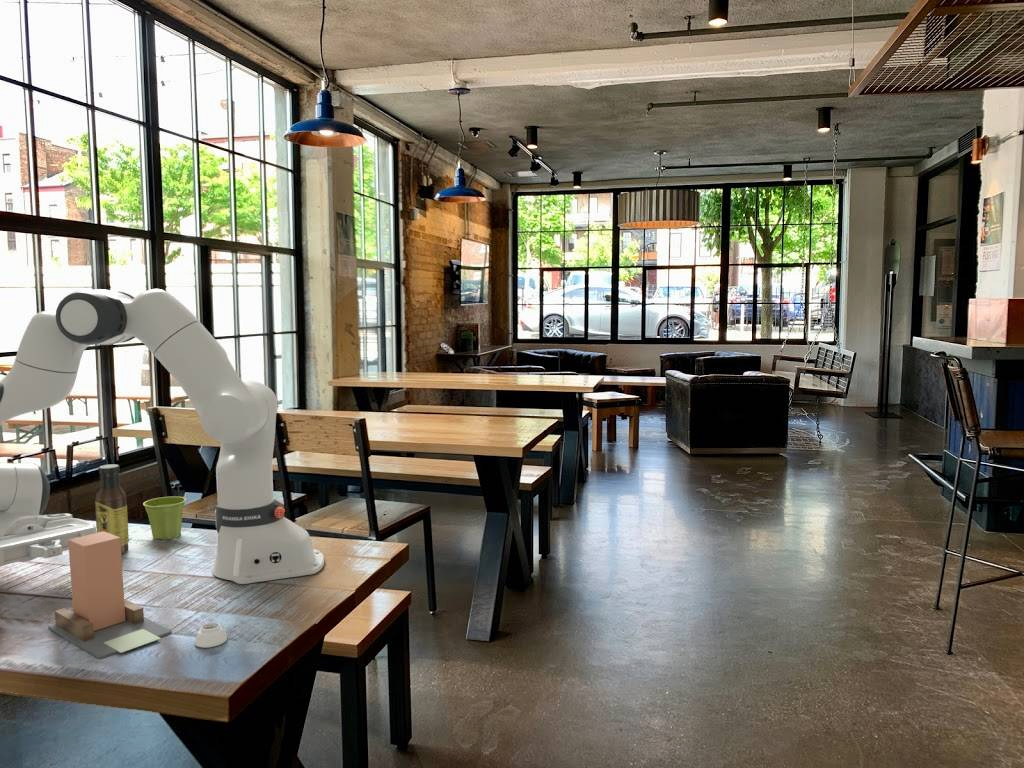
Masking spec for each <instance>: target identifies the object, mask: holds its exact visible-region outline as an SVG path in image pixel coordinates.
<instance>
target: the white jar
mask: <svg viewBox="0 0 1024 768" xmlns="http://www.w3.org/2000/svg"><path fill="white" fill-rule="evenodd" d="M227 639H228V634H227V633H226V631H225V630H224V628H223V627H222V626H221V624H220V622H213V621H212V622H206V623H204V624H202V625H201V626H200V629H199V630H198V632H197V634H196V636H195V639H194V645H195V646H196V647H199V648H205V649H206V648H207V649H208V648H214V647H218V646H220V645H222V644H224V643H225V642H226V641H227Z"/></svg>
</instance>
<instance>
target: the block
mask: <svg viewBox="0 0 1024 768" xmlns="http://www.w3.org/2000/svg"><path fill="white" fill-rule="evenodd" d="M68 545H69V550H68V556H69V571H70V583H71V587H70V588H71V597H72V599H71V600H72V613H74V614H76V615H78V616H80V617H82V618H83V619H85V620H87V621H89V622H91V623H92V624H93V627H94V631H96V630H99V629H102V628H105V627H108V626H111V625H114V624H117V623H120V622H123V621H126V619H125V604H124V599H125V592H124V591H125V590H124V588H125V587H124V579H123V578H124V576H123V575H124V574H123V562H122V561H123V560H122V554H121V542H120V537H118V536H115V535H112V534H110V533H107V532H105V531H103V532H99V533H94V534H90V535H86V536H82V537H77V538H73V539H69V540H68Z"/></svg>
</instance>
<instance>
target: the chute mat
mask: <svg viewBox="0 0 1024 768" xmlns="http://www.w3.org/2000/svg"><path fill="white" fill-rule="evenodd" d="M47 628H48V630H51V631H52V632H53V633H56V634H58V636H60V637H62V638H64V639H65V640H67V641H69V642H70V643H72V644H74V645H75V646H77V647H78V648H80V649H82V650H84V651H85V652H87V653H88V654H89V655H92V656H94V657H95V658H97V659H99V660H100V659H103V658H106V657H109V656H112V655H115V654H118V653H120V654H123V653H125V652H128V651H130V650H133V649H136V648H139V647H142V646H144V645H147V644H150V643H152V642H156V641H158V640H161V639H162V637H165V636H168V635H171V634H172V633H173V631H172V630H171V629H169V628H167V627H165V626H164V625H161V624H160V623H157V622H155V621H153V620H151V619H149V618H148V617H145V616H144V622H142V623H139V624H136V625H135V624H133V623H131V622H129V621H127V620H126V621H123V622H120V623H117V624H114V625H111V626H108V627H105V628H102V629H99V630H96V631H94V639H91V640H88V641H85V642H84V641H82V640H80V639H79V638H77V637H75V636H74V635H72V634H70V633H69V632H67V631H65V630H64V629H62V628H60V627H58V626H57V625H56V623H53V624H50V625H48V627H47Z"/></svg>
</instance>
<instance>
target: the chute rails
mask: <svg viewBox="0 0 1024 768" xmlns="http://www.w3.org/2000/svg"><path fill="white" fill-rule="evenodd" d="M124 604H125V619H126V620H127V621H129V622H131V623H133V624H135V625H136V624H139V623H142V622H144V617H145V616H144V615H145V614H144V608H143V606H140V605H138V604H136V603H134V602H132V601H130V600H128V599H126V598H124ZM54 620H55V621H54V622H55V623H54V624H56V625H57V626H58V627H60V628H62V629H64V630H65V631H67V632H69V633H70V634H72V635H74V636H75V637H77V638H79V639H80V640H82V641H84V642H85V641H88V640H91V639H94V627H93V624H92V623H91V622H89V621H87V620H85V619H83V618H82V617H80V616H78V615H76V614H74V613H73V611H70V610H69V609H67V608H65V607H63V608H60V609H57V610H54Z"/></svg>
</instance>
